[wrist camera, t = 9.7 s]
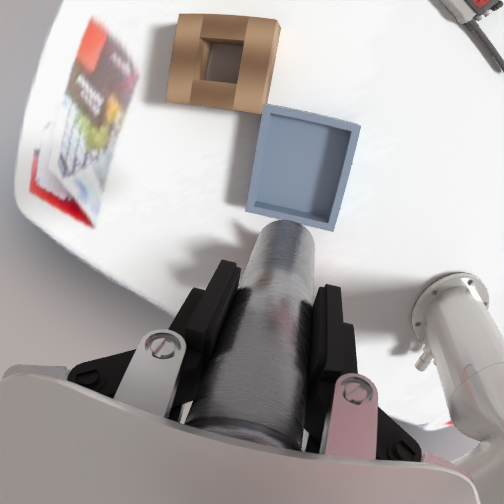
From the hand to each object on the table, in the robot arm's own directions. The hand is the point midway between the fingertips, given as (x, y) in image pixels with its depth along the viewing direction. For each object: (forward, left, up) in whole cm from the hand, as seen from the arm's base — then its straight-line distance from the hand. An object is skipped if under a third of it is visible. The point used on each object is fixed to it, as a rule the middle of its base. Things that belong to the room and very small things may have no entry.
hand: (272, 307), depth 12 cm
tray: (0, 0, -26) cm, 26 cm away
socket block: (+10, +10, -26) cm, 29 cm away
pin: (0, 0, -5) cm, 5 cm away
